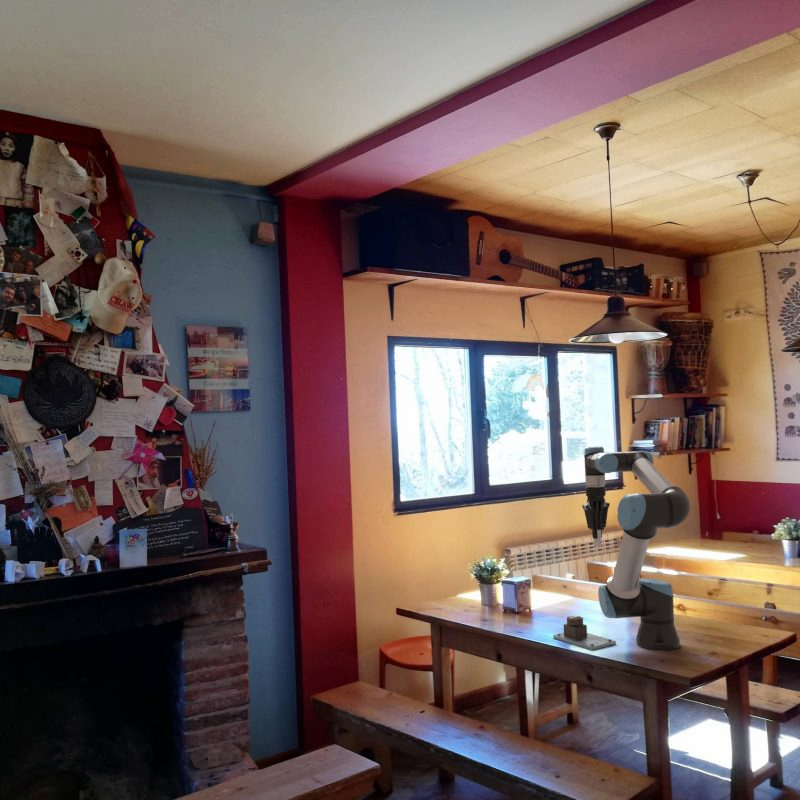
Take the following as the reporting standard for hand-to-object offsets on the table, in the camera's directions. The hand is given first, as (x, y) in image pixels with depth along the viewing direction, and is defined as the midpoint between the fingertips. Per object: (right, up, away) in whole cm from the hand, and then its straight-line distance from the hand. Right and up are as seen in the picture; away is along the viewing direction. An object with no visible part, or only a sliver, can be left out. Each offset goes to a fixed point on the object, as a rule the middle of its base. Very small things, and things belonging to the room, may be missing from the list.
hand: (597, 546), depth 309 cm
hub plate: (-9, -32, -15) cm, 37 cm away
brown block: (-11, -31, -12) cm, 35 cm away
